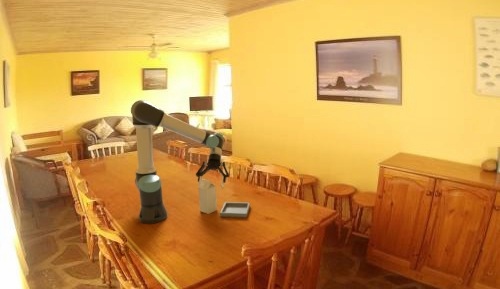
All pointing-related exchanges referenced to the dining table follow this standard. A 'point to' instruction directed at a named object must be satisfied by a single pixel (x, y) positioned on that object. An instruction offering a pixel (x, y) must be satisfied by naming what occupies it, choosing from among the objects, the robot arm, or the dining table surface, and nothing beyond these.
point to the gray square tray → (235, 209)
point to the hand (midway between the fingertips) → (210, 187)
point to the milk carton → (207, 197)
